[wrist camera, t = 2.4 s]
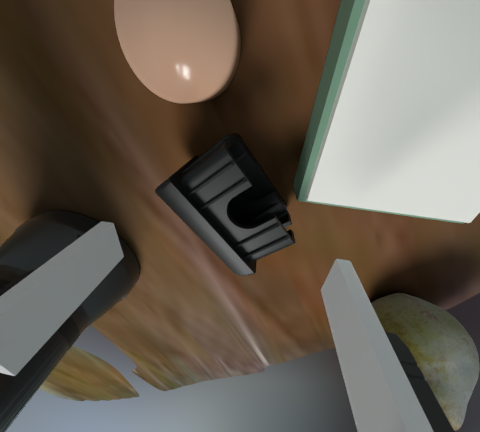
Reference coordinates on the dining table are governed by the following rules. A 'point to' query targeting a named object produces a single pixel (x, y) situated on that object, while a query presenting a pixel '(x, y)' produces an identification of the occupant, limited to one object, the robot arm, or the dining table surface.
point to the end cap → (230, 204)
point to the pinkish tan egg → (180, 46)
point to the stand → (398, 111)
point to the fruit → (434, 349)
